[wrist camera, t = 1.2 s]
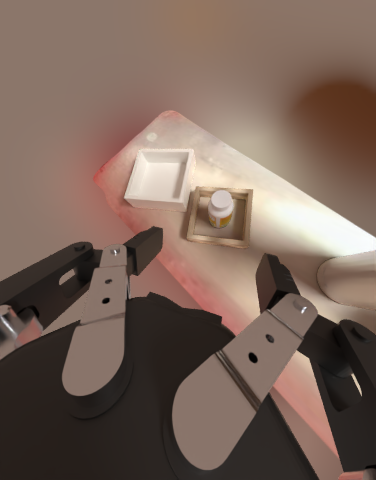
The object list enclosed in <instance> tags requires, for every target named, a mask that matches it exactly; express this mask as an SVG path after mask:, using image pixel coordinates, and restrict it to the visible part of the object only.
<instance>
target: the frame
mask: <svg viewBox="0 0 376 480" xmlns="http://www.w3.org/2000/svg"><path fill="white" fill-rule="evenodd" d="M219 190H225V191H227V192H229V193H230V195H231V197H232V199H244V200H246V204H245V215H244V226H243V237H242V241H241V240H233V239H225V238H216V237H208V236H200V235H194V229H195V223H196V217H197V212H198V206H199V200H200V197H212V195H213V194H214V193H215V192H216V191H219ZM252 198H253V190H251V189H232V188H213V187H196V189H195V194H194V200H193V205H192V210H191V216H190V221H189V226H188V232H187V237H186V238H187V240H188V241H190V242H198V243H206V244H213V245H221V246H228V247H236V248H244V249H246V248H247V247H248V246H249V236H250V224H251V211H252Z"/></svg>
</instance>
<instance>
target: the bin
mask: <svg viewBox="0 0 376 480" xmlns="http://www.w3.org/2000/svg"><path fill="white" fill-rule="evenodd" d="M195 165H196V161H195V154H194V149H139V152H138V155H137V158H136V161H135V164H134V168H133V171H132V174H131V177H130V180H129V184H128V187H127V190H126V193H125V196H124V199H125V200H126V201H127V202H128V203H130V204H131V205H132V206H133V207H135V208H146V209H157V210H168V211H179V212H187V206H188V201H189V196H190V191H191V186H192V181H193V176H194V170H195Z"/></svg>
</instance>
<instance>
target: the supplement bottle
mask: <svg viewBox="0 0 376 480" xmlns="http://www.w3.org/2000/svg"><path fill="white" fill-rule="evenodd" d="M233 207H234V205H233V201H232V197H231V195H230V193H229V192H227V191H225V190H219V191H216V192H215V193H214V194H213V195H212V197H211V200H210V201H209V204H208V213H209V221H210V223H211V225H212V226H214V227H216V228H223V227H225V226H227V225H228V224H229V222H230V219H231V215H232V212H233Z"/></svg>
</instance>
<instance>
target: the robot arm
mask: <svg viewBox="0 0 376 480" xmlns="http://www.w3.org/2000/svg"><path fill="white" fill-rule="evenodd" d="M162 244H163V229H162V228H159V227H155V226H153V227H151V228H150V229H148V230H146V231H143V232H140V233H139V234H137V235H136V236H134V237H133V238H131V239H130V240H128V241H127V242H126V243H124V244H123V245H121V244H114V245H110V246H108V247H106V248H105V249H104V250H95V249H93V246H92V244H91V243H89V242H78V243H74V244H72V245H70V246H68V247H66V248H64V249H62V250H60V251H58V252H56V253H54V254H53V255H50V256H49V257H47V258H45V259H43V260H41V261H39V262H37V263H35V264H33V265H31V266H30V267H27V268H26V269H24V270H22V271H20V272H18V273H16V274H14V275H12V276H10V277H8V278H7V279H5V280H3V281H1V282H0V480H319V478H318V476H317V474H316V473H315V471H314V469H313V468H312V466H311V464H310V462H309V461H308V459H307V457H306V455H305V454H304V452H303V450H302V448H301V447H300V445H299V443H298V441H297V440H296V438H295V436H294V434H293V433H292V431H291V429H290V427H289V426H288V424H287V422H286V421H285V419H284V417H283V415H282V414H281V412H280V410H279V408H278V407H277V405H276V403H275V401H274V400H273V398H272V396H271V394H270V393H269V391H270V389H271V388H272V386H273V385H274V383H275V382H276V380H277V379H278V377H279V375H280V374H281V372H282V371H283V369H284V368H285V366H286V365H287V363H288V362H289V360H290V359H291V357H292V356H293V354H294V353H295V351H296V350H297V351H299V352H300V353H302V354H303V355H305V356H306V357H308V358H309V359H310V363H311V366H312V369H313V372H314V376H315V379H316V382H317V386H318V389H319V392H320V395H321V399H322V402H323V405H324V409H325V412H326V415H327V418H328V422H329V425H330V428H331V432H332V435H333V438H334V442H335V445H336V448H337V451H338V455H339V458H340V461H341V464H342V468H343V471H344V473H342V474H341V475H340V476H339V479H338V480H376V335H375V334H374V333H372V332H371V331H370V330H368V329H367V328H365V327H364V326H362V325H360V324H359V323H356V322H354V321H351V320H347V319H343V320H341V321H340V322H339V323H338V324H336V323H334V322H332V321H330V320H328V319H326V318H324V317H322V316H321V315H319V314H318V312H317V309H316V308H315V306H314V305H313V304H312V303H311V302H310V301H309V300H307V299H306V298H304V297H302V296H301V295H300V293H299V291H298V289H297V286H296V284H295V282H294V280H293V278H292V277H291V274H290V271H289V270H288V269H287V268H286V267H285V266H284V265H282V264H280V262H279V260H278V257H277V256H275V255H270V254H266V253H265V254H264V255H263V257H262V260H261V262H260V264H259V267H258V269H257V272H256V285H257V292H258V299H259V306H260V313H261V315H260V316H259V317H257V318H256V319H255V320H254V321H253V322H252V323H251V324H250V325H248V326H247V327H246V328H245V329H244V330H243V331H242V332H241V333H240V334H238V335H237V336H235V335H234V333H233V332H232V331H231V330H230V329H228V328H227V327H226V326H225V325H223V324H222V323H221V322H222V316H219V315H216V314H213V313H210V312H207V311H204V310H198V309H188V308H182V307H180V306H179V305H177V304H176V303H174V302H173V301H171V300H170V299H168V298H166V297H164V296H161V295H158V294H155V293H152V292H150V293H149V294H148V295H147V297H135V298H131V296H130V275H131V274H133V275H136V276H138V275H139V274H140V273H141V272H142V271H143V270H144V269H145V268H146V266H147V265H148V264H149V263H150V262H151V261H152V260H153V259H154V258H155V257H156V255H157V254H158V253H159V252H160V251H161V249H162ZM71 269H74V272H75V275H74V276H72V277H71V278H70V279H68V280H67V281H66V282H64V283H63V284H62V285H59V280H60V278H61V277H62V276H63V275H64V274H65V273H67V272H68V271H70V270H71ZM317 280H318V283H319V286H320V288H321V289H322V291H323V292H324V293H325V294H326V295H327V296H328V297H329V298H330V299H332V300H334V301H335V302H338V303H340V304H344V305H349V306H355V307H360V308H365V309H371V310H376V250H375V251H369V252H364V253H359V254H354V255H348V256H343V257H338V258H333V259H329V260H327V261H325V262H324V263H322V264H321V266H320V267H319V269H318V272H317ZM87 290H89V292H88V295H87V300H86V303H85V307H84V311H83V315H82V319H81V320H78V321H76V322H74V323H71V324H69V325H67V326H65V327H62V328H60V329H58V330H55V331H53V332H51V333H48V334H46V335H44V336H41V334H42V331H43V330H45V329H46V328H47V327H48V326H49V325H50V324H51V323H52V322H53V321H54V320H56V319H57V318H58V317H59V316H60V315H61V314H62V313H63V312H64V311H65V310H66V309H68V308H69V307H70V306H71V305H72V304H73V303H74V302H75V301H76V300H77V299H79V298H80V297H81V296H82V295H83V294H84V293H85V292H86V291H87ZM40 336H41V337H40ZM353 373H354V375H355V377H356V379H357V381H358V383H359V385H360V388H361V391H362V396H361V394H360V392H359V390H358V388H357V386H356V384H355V382H354V380H353V378H352V376H351V374H353Z"/></svg>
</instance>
